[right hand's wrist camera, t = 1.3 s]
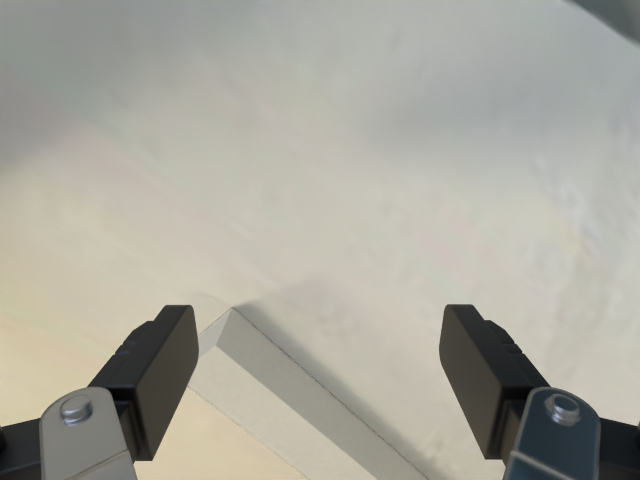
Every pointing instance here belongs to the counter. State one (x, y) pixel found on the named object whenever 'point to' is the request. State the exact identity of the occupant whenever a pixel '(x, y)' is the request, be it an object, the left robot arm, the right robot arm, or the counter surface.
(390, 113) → the counter surface
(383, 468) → the beam
